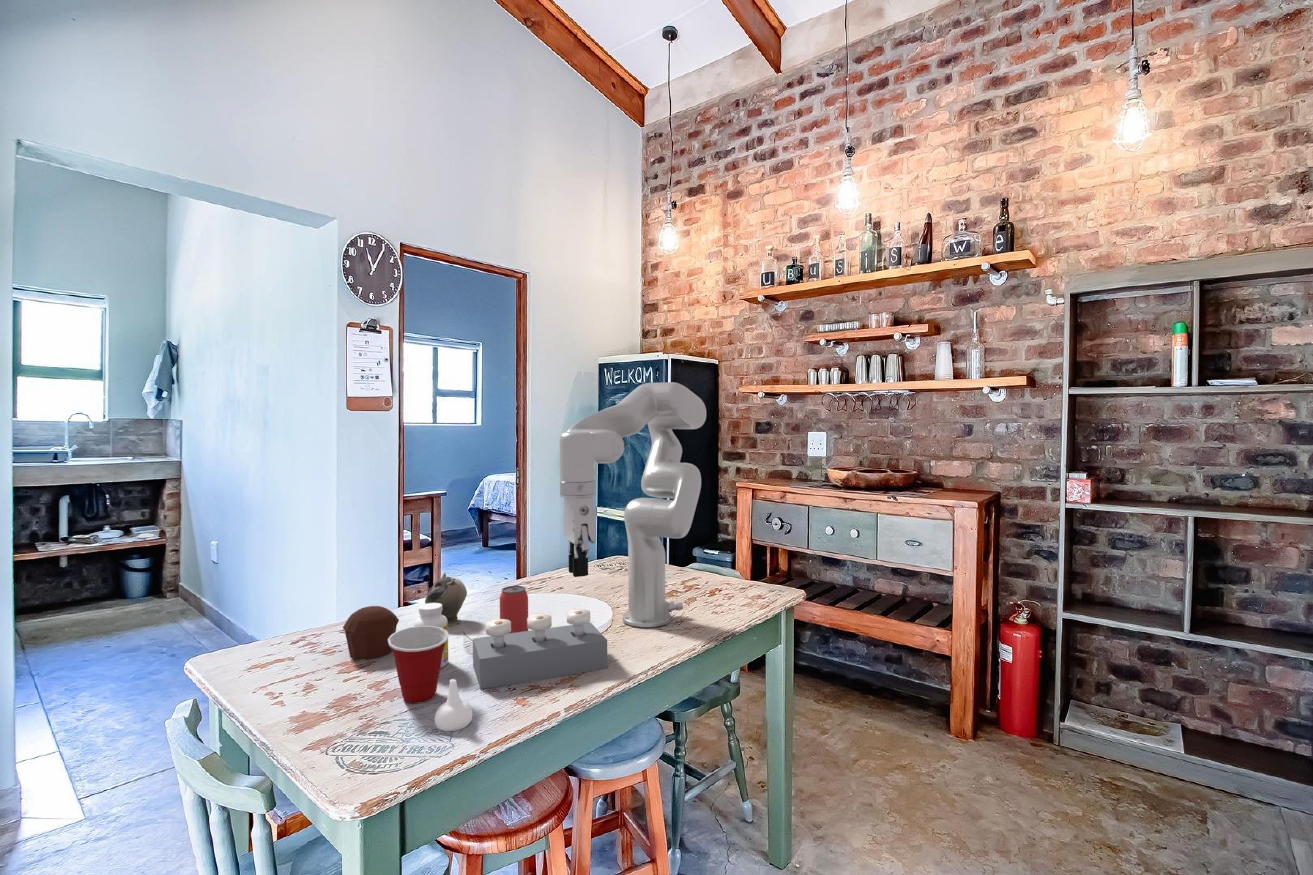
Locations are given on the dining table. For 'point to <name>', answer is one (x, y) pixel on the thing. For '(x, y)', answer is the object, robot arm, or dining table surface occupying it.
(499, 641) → the knob
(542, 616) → the knob middle
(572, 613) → the knob
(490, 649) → the console
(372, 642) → the muffin
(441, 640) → the plastic cup
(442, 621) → the supplement bottle
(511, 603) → the beer can
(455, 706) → the garlic bulb
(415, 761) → the dining table surface
